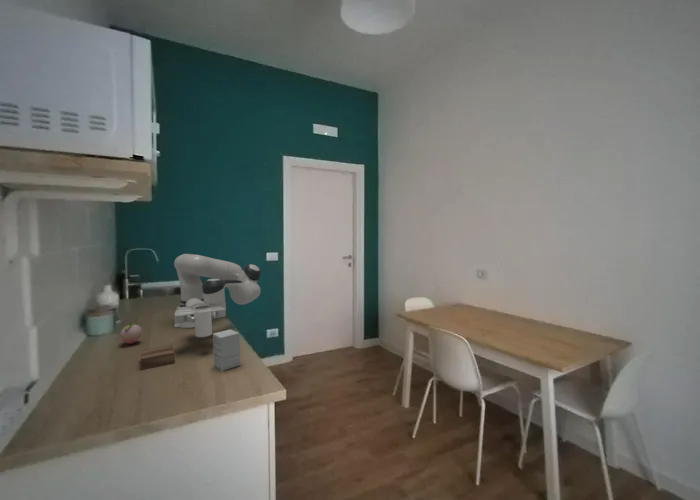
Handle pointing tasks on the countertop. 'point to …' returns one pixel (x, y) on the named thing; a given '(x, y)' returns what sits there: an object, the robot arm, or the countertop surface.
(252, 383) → the countertop surface
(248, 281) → the robot arm
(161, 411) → the countertop surface
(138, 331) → the decorative fruit
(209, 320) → the can
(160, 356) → the walnut base
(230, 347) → the supplement box
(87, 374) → the countertop surface
